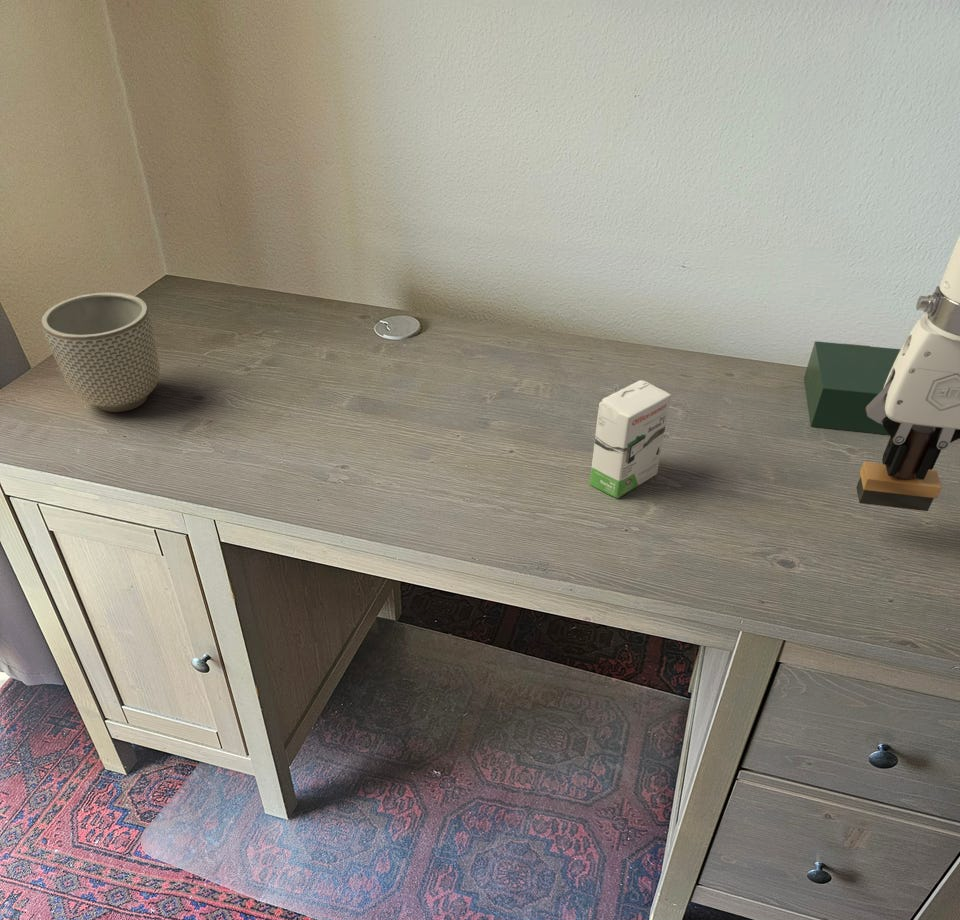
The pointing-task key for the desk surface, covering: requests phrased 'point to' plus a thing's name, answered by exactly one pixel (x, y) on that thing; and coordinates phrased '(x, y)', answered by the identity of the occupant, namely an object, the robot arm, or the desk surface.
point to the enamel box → (846, 385)
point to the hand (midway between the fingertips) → (904, 469)
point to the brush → (901, 478)
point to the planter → (105, 348)
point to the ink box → (629, 438)
